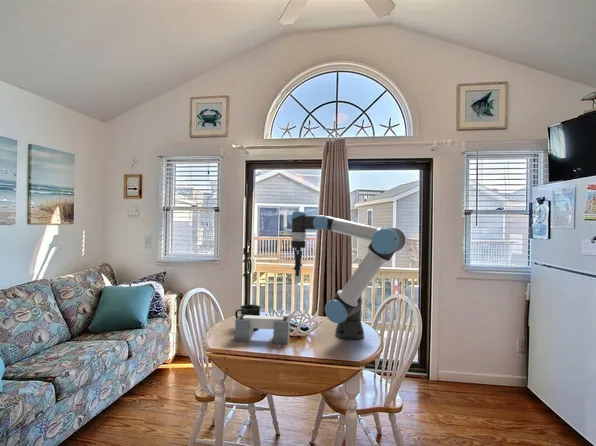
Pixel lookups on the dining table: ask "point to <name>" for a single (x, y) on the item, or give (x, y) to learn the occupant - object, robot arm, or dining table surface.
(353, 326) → the robot arm
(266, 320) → the rail
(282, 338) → the brackets
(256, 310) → the mug
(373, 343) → the dining table surface
